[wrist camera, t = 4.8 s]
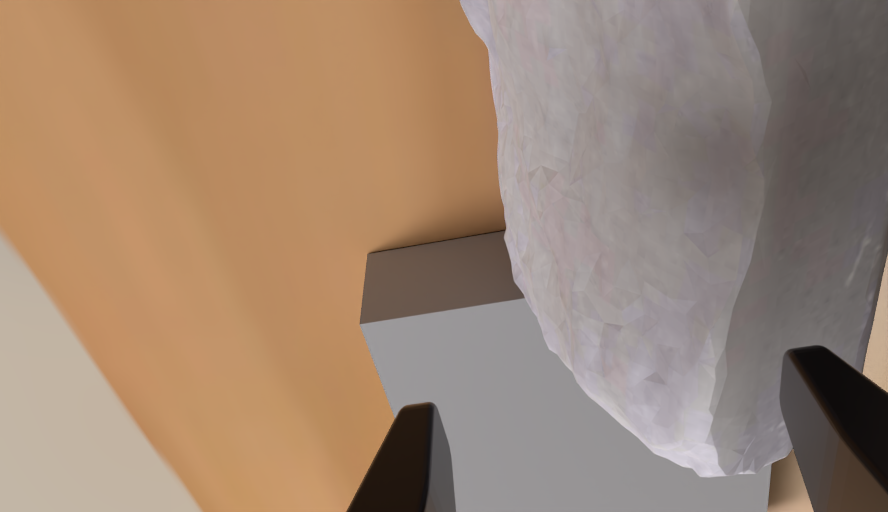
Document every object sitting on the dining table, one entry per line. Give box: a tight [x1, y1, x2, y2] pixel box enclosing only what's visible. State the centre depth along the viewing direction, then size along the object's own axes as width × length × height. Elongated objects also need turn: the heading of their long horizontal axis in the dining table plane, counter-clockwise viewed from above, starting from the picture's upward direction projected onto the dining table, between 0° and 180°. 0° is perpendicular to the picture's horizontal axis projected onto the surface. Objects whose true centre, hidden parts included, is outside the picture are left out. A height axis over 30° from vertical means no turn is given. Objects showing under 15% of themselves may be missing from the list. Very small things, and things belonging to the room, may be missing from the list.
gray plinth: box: [360, 231, 772, 512], centre depth 26 cm, size 11×16×3 cm
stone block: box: [460, 0, 888, 478], centre depth 14 cm, size 12×5×10 cm, turn 10°
